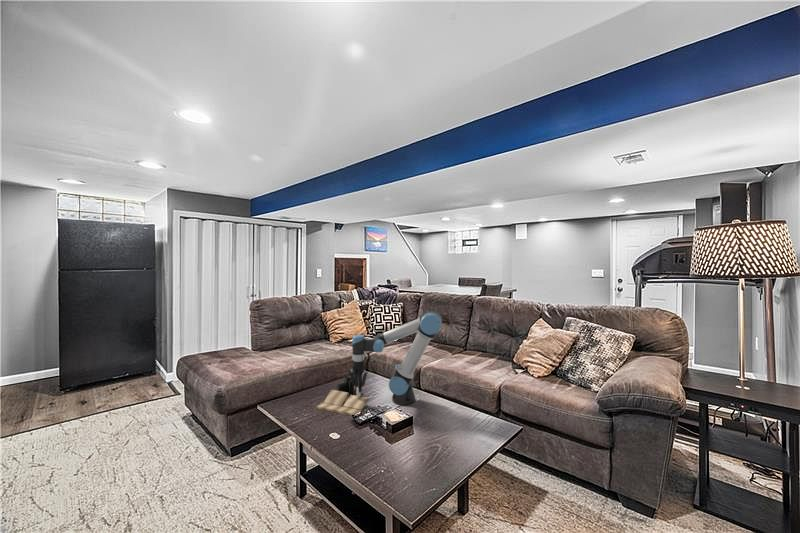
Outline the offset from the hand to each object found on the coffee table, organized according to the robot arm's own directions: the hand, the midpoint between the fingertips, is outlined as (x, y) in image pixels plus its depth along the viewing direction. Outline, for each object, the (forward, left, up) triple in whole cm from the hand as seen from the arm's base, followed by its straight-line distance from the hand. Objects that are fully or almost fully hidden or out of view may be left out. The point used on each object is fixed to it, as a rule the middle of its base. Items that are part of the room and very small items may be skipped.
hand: (358, 396), depth 211 cm
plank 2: (0, +3, -3) cm, 4 cm away
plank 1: (+14, +4, -2) cm, 15 cm away
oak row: (+7, +12, -5) cm, 15 cm away
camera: (+19, -14, -5) cm, 24 cm away
